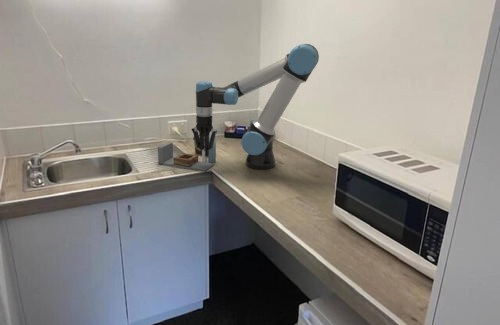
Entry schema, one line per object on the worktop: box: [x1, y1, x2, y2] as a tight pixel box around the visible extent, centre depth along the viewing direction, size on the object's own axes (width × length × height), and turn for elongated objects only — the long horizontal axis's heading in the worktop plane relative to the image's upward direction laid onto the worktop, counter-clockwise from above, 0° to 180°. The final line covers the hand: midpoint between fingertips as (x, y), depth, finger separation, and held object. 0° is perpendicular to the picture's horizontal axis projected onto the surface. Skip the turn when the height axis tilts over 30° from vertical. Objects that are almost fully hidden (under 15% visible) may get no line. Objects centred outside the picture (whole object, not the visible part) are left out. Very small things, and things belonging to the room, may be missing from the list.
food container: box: [192, 136, 208, 158], centre depth 206 cm, size 12×6×10 cm, turn 58°
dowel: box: [207, 135, 217, 164], centre depth 193 cm, size 4×4×14 cm
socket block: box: [173, 152, 199, 166], centre depth 190 cm, size 9×9×3 cm
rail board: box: [157, 141, 215, 173], centre depth 189 cm, size 10×26×9 cm, turn 70°
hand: (204, 162), depth 186 cm, fingers closed
